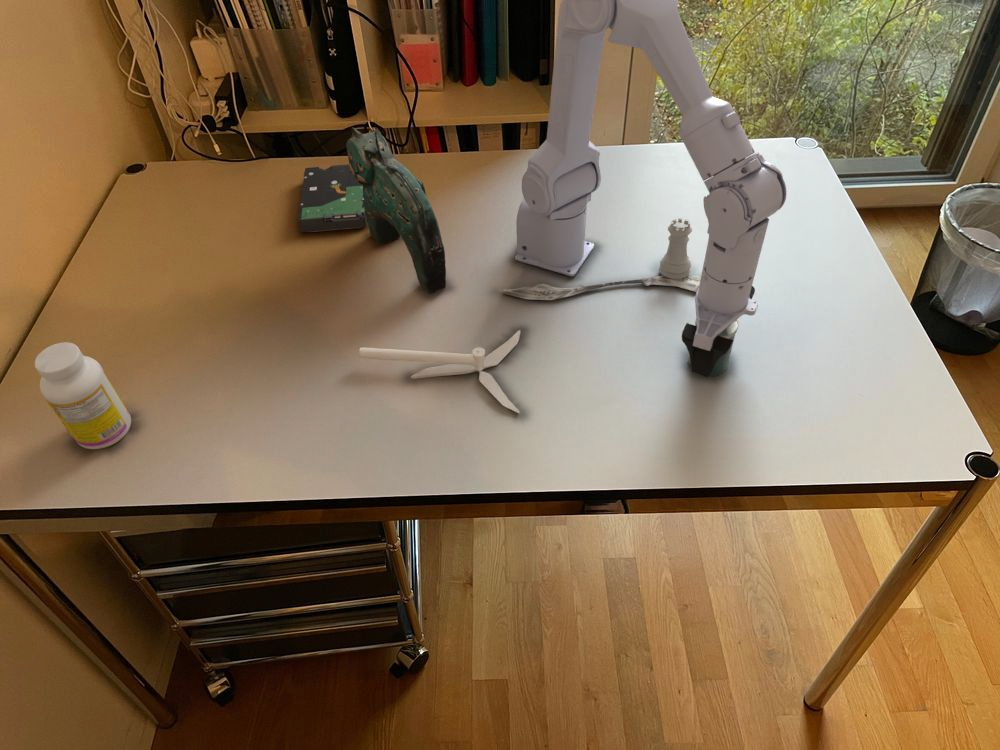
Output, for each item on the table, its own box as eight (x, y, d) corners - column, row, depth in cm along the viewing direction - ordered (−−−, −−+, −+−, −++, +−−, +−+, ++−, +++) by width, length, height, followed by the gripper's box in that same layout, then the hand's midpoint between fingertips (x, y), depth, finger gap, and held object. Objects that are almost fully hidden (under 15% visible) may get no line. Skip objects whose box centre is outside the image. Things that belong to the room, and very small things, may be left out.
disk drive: (307, 182, 130) (301, 234, 120) (303, 167, 128) (297, 219, 118) (369, 176, 131) (368, 228, 121) (366, 161, 129) (365, 212, 119)
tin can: (682, 369, 98) (690, 328, 93) (694, 344, 101) (703, 303, 96) (721, 381, 96) (731, 341, 91) (732, 355, 99) (743, 315, 94)
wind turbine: (344, 382, 93) (518, 393, 91) (372, 304, 103) (530, 312, 101) (350, 403, 96) (519, 415, 94) (377, 325, 106) (530, 334, 104)
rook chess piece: (692, 266, 111) (699, 217, 106) (687, 283, 108) (694, 233, 103) (661, 262, 113) (667, 212, 107) (655, 278, 110) (661, 228, 104)
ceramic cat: (359, 233, 120) (334, 112, 105) (396, 218, 122) (376, 98, 108) (421, 303, 108) (403, 178, 94) (461, 285, 111) (449, 161, 96)
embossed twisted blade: (731, 290, 108) (720, 267, 111) (731, 286, 107) (721, 264, 111) (500, 312, 106) (497, 288, 110) (500, 309, 106) (497, 285, 109)
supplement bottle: (84, 411, 97) (35, 337, 87) (138, 407, 97) (95, 332, 88) (69, 454, 92) (15, 381, 83) (125, 449, 92) (78, 375, 83)
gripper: (747, 317, 82) (724, 402, 92) (781, 240, 90) (757, 325, 100) (682, 298, 84) (667, 383, 94) (721, 225, 93) (703, 310, 103)
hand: (710, 352), depth 97 cm, fingers open, 7 cm apart
